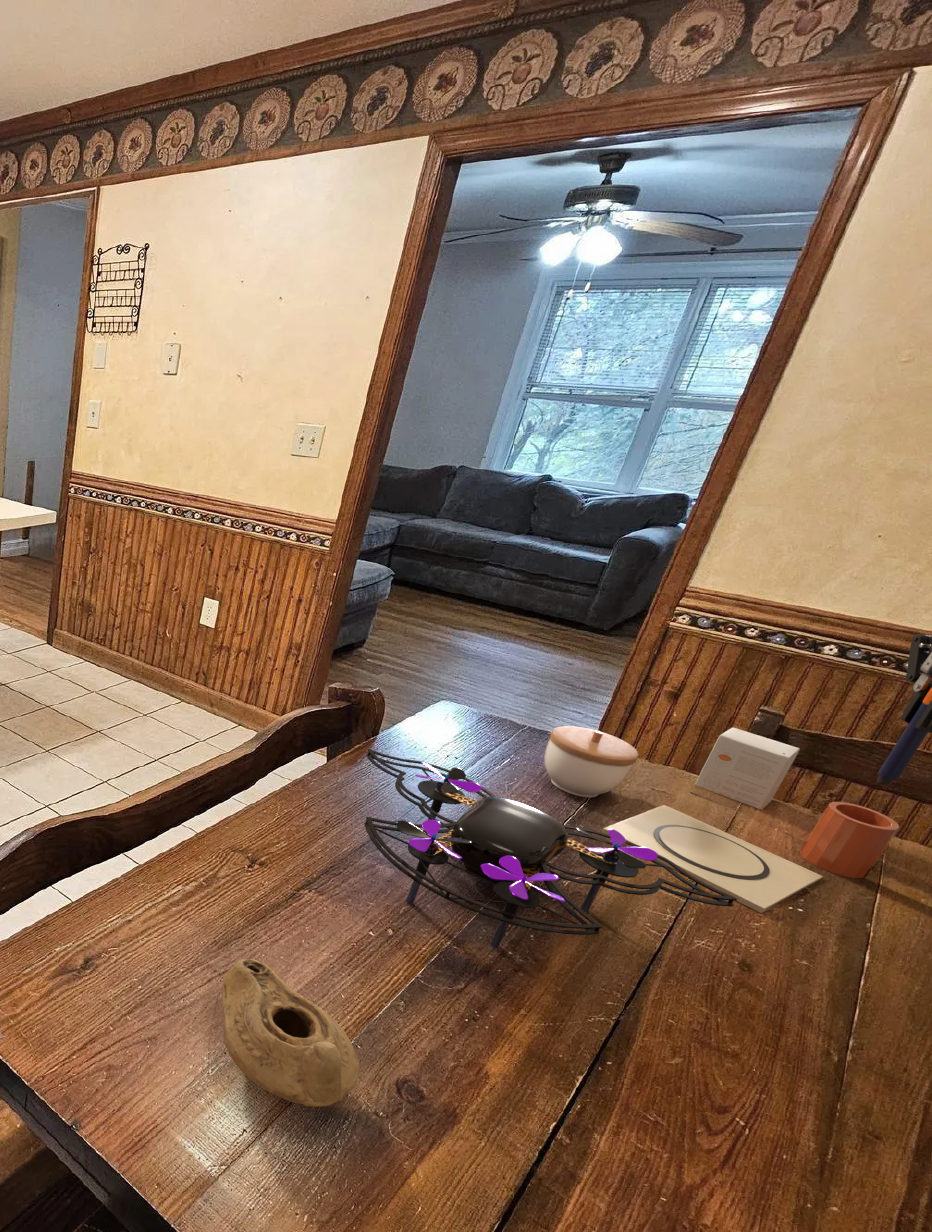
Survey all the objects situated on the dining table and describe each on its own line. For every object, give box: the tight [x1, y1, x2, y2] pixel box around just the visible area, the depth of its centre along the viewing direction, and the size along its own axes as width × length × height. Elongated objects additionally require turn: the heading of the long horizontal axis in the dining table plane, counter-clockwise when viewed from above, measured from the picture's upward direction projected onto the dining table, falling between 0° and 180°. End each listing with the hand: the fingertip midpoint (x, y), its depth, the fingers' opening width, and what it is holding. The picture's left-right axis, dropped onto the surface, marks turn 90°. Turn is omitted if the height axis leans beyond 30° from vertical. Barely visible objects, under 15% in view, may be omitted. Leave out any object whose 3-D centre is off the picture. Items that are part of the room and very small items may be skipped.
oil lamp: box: [221, 958, 360, 1108], centre depth 69 cm, size 11×15×8 cm
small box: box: [689, 727, 800, 810], centre depth 115 cm, size 8×6×10 cm
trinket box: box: [543, 725, 640, 798], centre depth 117 cm, size 11×11×9 cm
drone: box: [363, 748, 737, 949], centre depth 91 cm, size 40×10×28 cm
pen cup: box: [799, 801, 900, 879], centre depth 102 cm, size 6×6×8 cm
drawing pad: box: [601, 804, 824, 914], centre depth 104 cm, size 16×18×1 cm
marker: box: [876, 687, 932, 787], centre depth 96 cm, size 2×2×13 cm
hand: (919, 726), depth 95 cm, fingers closed on marker, 2 cm apart
